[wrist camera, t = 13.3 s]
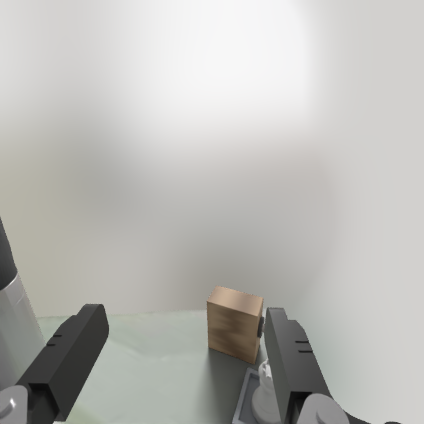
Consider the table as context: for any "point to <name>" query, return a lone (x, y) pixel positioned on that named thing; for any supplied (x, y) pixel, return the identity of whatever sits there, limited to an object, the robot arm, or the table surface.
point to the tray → (247, 398)
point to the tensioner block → (235, 323)
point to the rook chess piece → (265, 398)
